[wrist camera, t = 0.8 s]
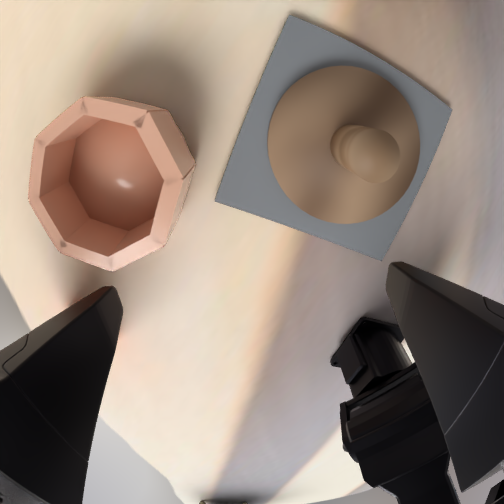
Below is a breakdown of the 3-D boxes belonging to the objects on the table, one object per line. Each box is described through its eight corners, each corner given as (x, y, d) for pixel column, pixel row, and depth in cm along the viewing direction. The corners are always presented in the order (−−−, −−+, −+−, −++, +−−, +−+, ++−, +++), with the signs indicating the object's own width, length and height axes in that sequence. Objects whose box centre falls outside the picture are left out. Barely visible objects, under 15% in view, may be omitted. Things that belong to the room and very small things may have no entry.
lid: (433, 115, 17) (474, 121, 13) (376, 239, 22) (403, 270, 18) (302, 40, 15) (321, 21, 11) (242, 188, 20) (243, 211, 16)
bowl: (211, 122, 18) (201, 125, 14) (170, 250, 22) (154, 286, 18) (83, 90, 16) (44, 90, 12) (60, 213, 20) (27, 239, 16)
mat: (447, 109, 18) (452, 109, 17) (378, 257, 23) (381, 261, 23) (288, 17, 15) (289, 14, 14) (215, 198, 21) (214, 201, 20)
